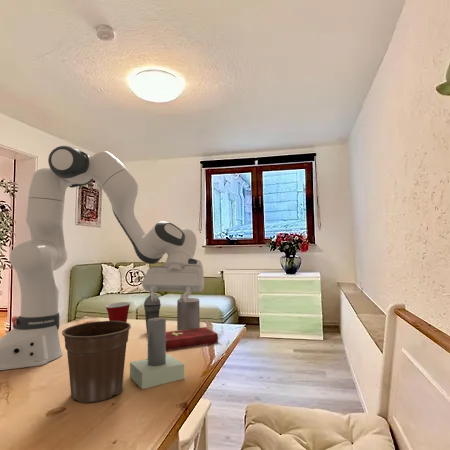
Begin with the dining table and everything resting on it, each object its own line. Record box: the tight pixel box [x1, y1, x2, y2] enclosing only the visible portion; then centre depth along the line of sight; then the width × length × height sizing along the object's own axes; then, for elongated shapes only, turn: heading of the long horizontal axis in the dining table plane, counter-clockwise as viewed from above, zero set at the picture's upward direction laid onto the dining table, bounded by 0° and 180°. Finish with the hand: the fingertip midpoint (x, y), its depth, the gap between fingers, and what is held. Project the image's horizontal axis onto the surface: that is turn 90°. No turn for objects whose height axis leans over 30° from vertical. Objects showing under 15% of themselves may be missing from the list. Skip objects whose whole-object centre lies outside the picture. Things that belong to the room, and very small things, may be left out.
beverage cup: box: [143, 291, 161, 334], centre depth 145 cm, size 7×7×20 cm
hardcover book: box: [166, 326, 219, 351], centre depth 128 cm, size 12×21×4 cm, turn 116°
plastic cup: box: [104, 301, 131, 323], centre depth 147 cm, size 11×11×12 cm
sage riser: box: [129, 354, 185, 390], centre depth 93 cm, size 12×10×4 cm
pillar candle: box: [176, 296, 201, 331], centre depth 145 cm, size 10×10×15 cm
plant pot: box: [61, 320, 132, 404], centre depth 84 cm, size 16×16×16 cm
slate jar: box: [147, 317, 167, 366], centre depth 94 cm, size 5×5×12 cm
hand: (167, 300), depth 104 cm, fingers open, 8 cm apart
